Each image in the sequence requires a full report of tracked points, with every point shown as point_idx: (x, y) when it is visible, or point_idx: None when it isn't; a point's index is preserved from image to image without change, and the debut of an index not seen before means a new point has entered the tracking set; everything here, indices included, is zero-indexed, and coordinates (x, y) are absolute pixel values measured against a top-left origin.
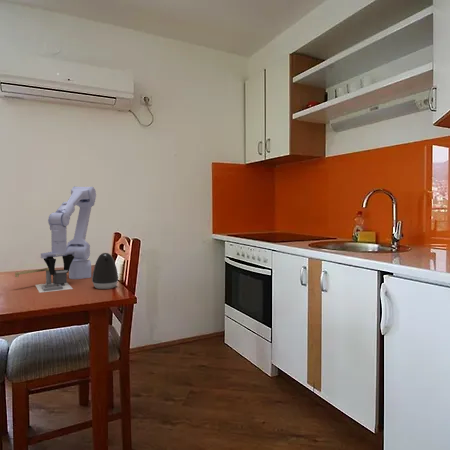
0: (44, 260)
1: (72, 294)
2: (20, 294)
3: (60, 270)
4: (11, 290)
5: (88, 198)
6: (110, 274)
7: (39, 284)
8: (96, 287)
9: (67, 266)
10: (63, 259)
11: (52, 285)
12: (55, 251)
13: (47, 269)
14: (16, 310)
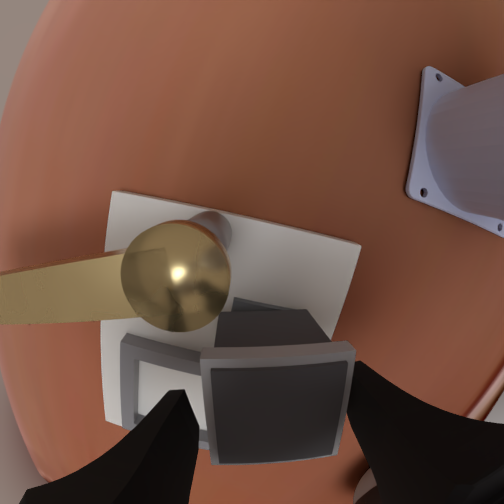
0: (42, 493)
1: (247, 479)
2: (34, 331)
3: (263, 460)
4: (8, 195)
5: None
6: None
7: (140, 202)
8: (355, 490)
9: (368, 457)
10: (418, 469)
11: (194, 369)
12: None
13: (149, 313)
14: None
